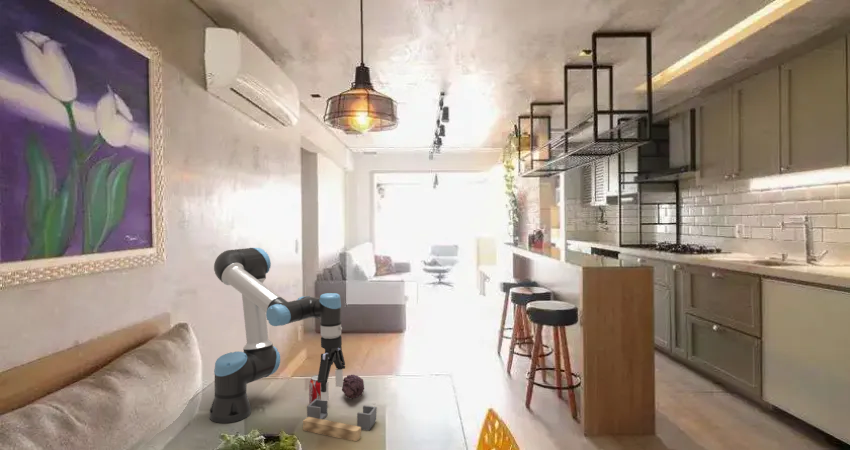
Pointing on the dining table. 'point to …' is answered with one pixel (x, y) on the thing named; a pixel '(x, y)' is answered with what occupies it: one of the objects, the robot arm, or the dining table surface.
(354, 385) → the pine cone
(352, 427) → the slat
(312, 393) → the soda can
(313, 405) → the end caps
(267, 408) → the dining table surface
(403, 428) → the dining table surface
